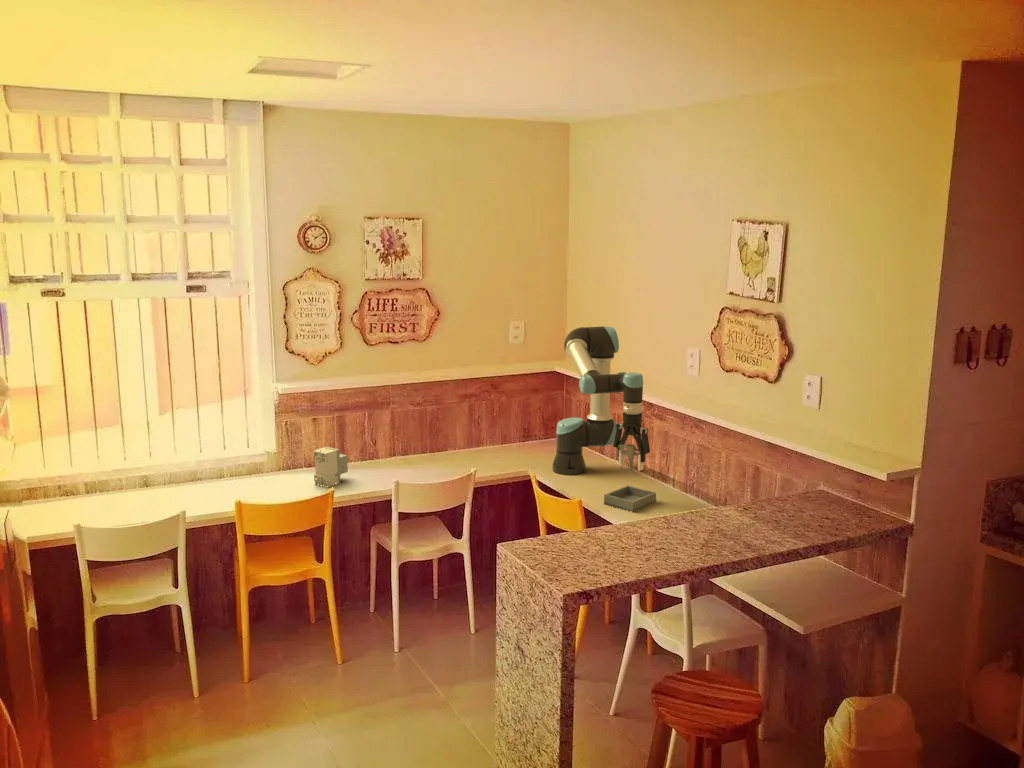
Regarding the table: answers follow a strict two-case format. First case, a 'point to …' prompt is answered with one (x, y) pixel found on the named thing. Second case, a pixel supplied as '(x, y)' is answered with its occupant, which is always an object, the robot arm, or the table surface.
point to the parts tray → (630, 498)
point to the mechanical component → (629, 453)
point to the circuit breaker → (329, 466)
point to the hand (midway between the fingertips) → (631, 467)
